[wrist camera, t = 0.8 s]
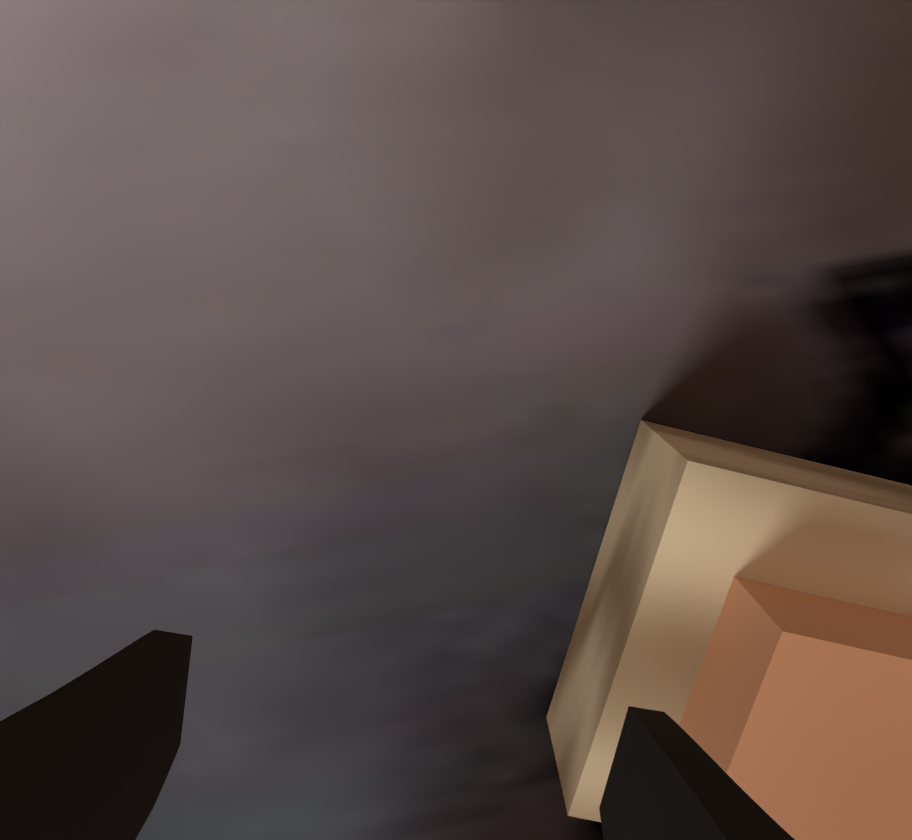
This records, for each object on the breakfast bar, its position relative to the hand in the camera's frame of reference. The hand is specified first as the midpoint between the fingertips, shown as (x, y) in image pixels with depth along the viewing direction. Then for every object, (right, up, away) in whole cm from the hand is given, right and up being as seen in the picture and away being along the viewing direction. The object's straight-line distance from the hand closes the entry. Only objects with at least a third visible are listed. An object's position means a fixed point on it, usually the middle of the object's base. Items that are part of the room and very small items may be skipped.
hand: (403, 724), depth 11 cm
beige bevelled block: (+9, -1, +10) cm, 14 cm away
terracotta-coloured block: (+9, -2, +6) cm, 11 cm away
